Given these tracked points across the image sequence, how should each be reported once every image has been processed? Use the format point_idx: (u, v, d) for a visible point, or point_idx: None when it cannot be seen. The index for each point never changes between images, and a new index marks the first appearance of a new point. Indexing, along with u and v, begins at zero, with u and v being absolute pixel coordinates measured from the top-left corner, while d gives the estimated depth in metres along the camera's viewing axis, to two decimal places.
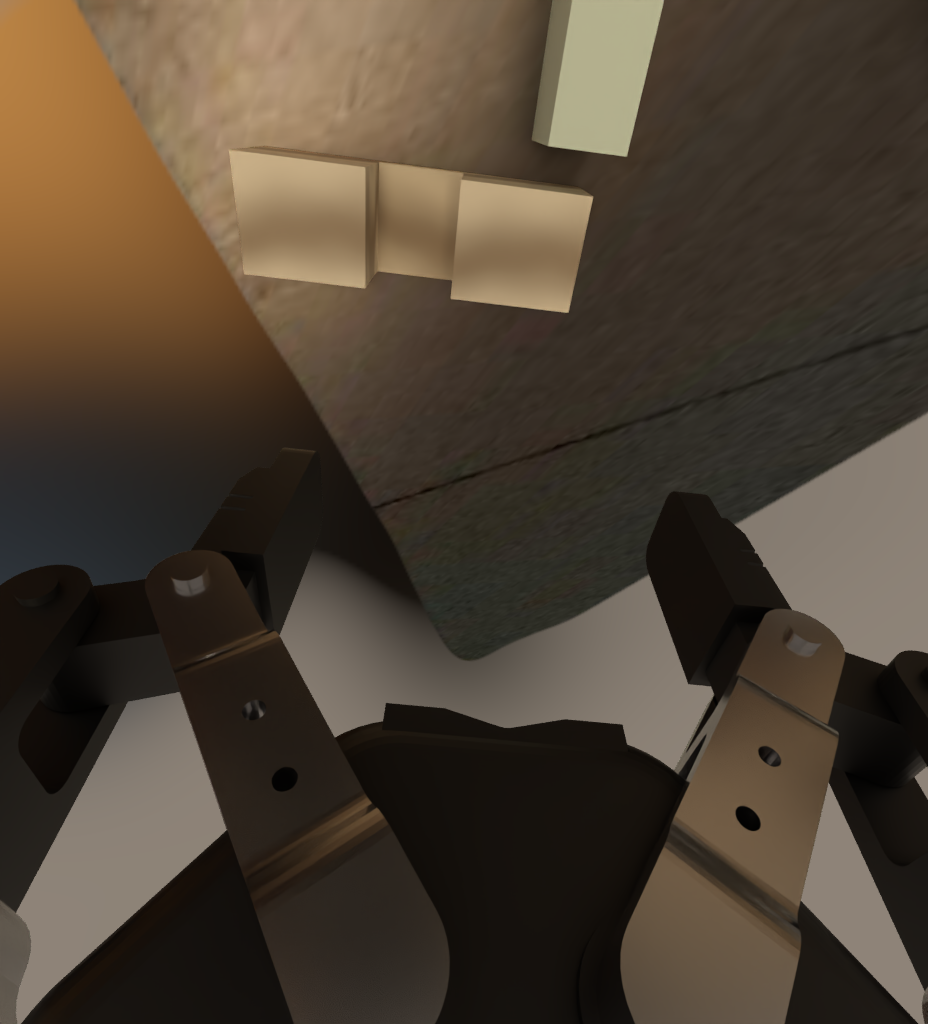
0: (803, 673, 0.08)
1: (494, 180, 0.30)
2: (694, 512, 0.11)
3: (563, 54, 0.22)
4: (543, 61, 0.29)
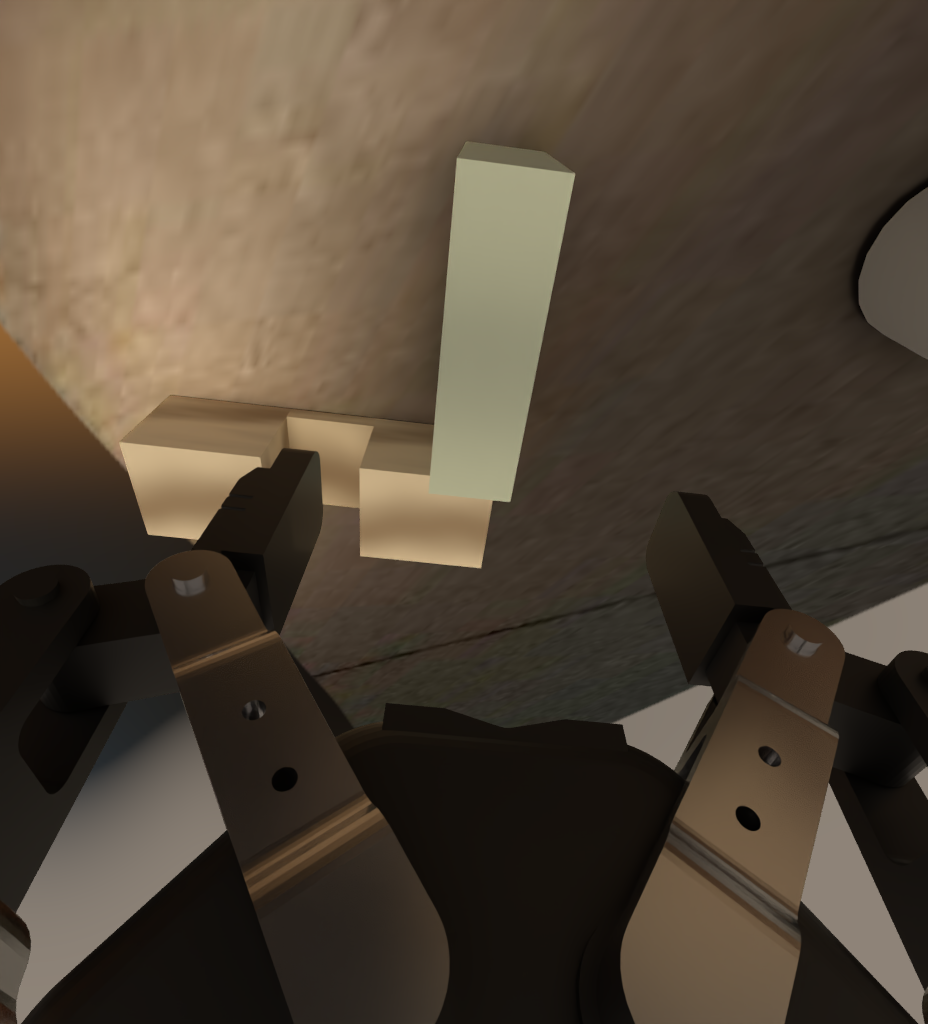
0: (803, 673, 0.08)
1: (399, 450, 0.29)
2: (694, 512, 0.11)
3: (434, 427, 0.21)
4: None
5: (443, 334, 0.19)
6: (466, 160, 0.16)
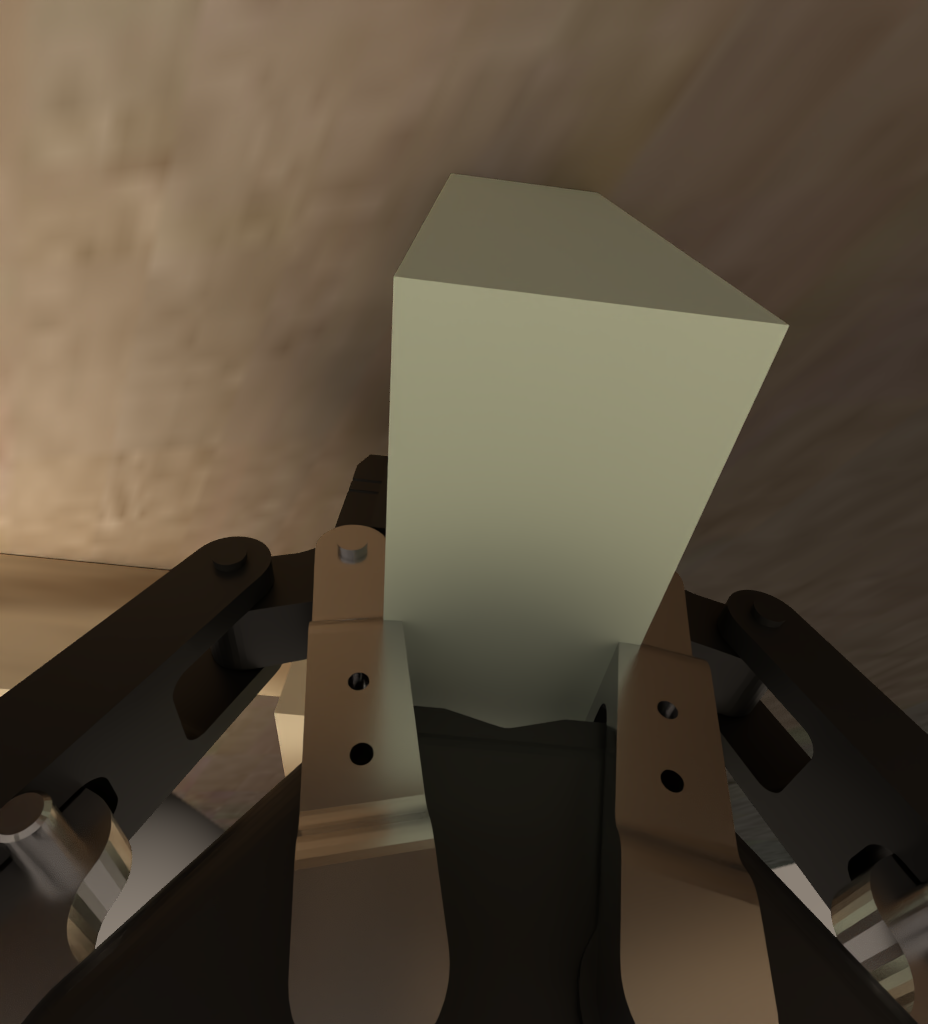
0: None
1: None
2: None
3: None
4: None
5: None
6: (425, 284, 0.05)
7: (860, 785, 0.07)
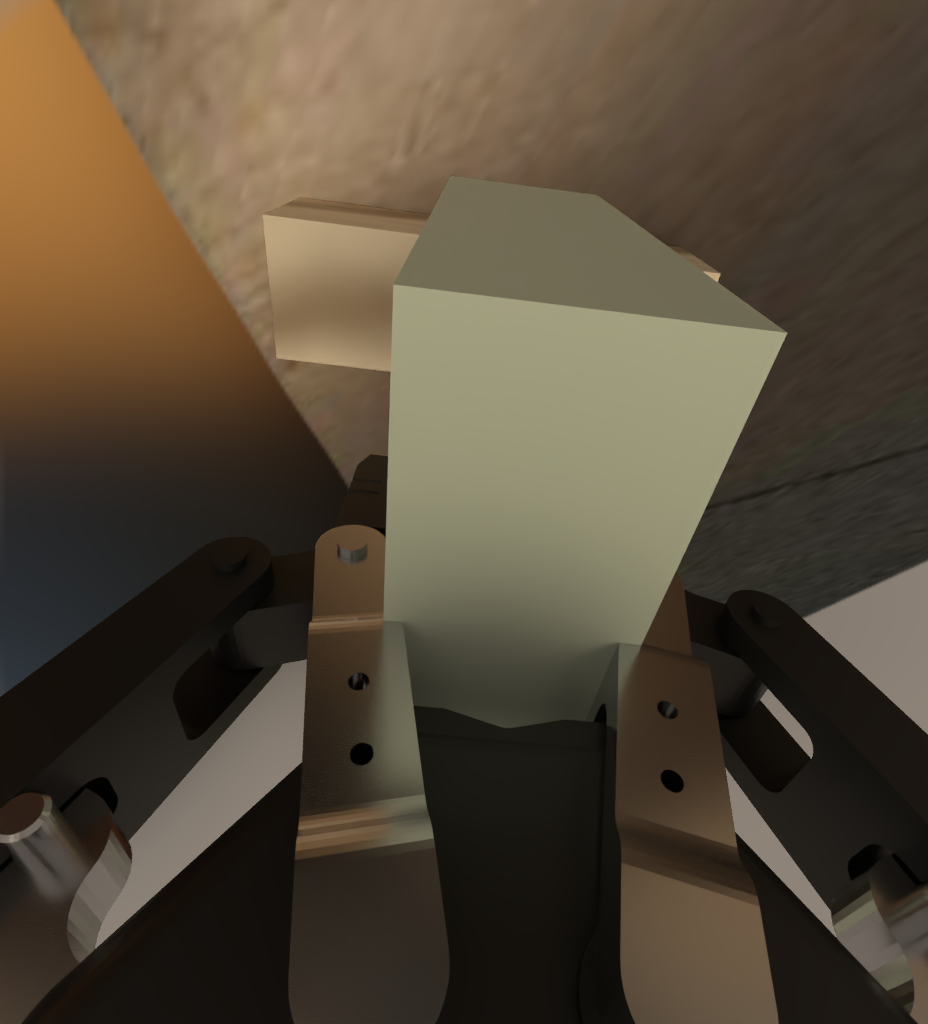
0: None
1: None
2: None
3: None
4: None
5: None
6: (425, 292, 0.05)
7: (860, 785, 0.07)
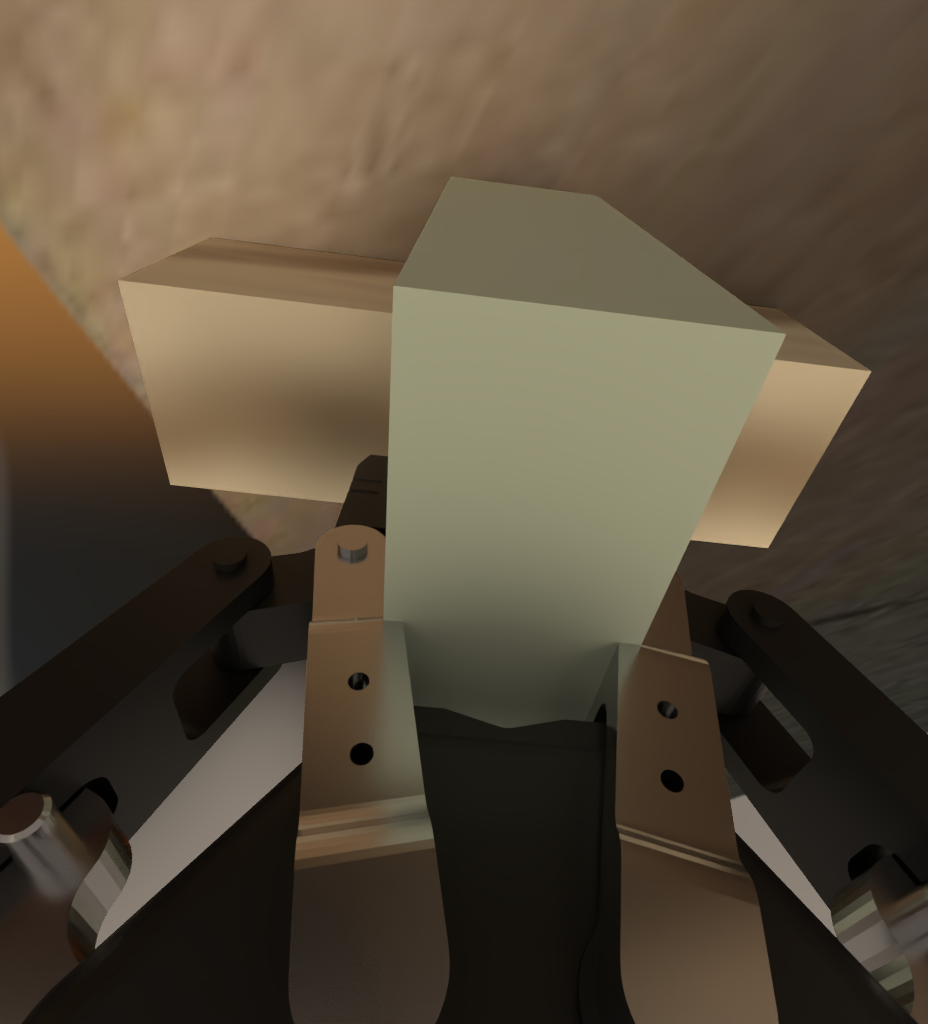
0: None
1: None
2: None
3: None
4: None
5: None
6: (425, 293, 0.05)
7: (860, 785, 0.07)
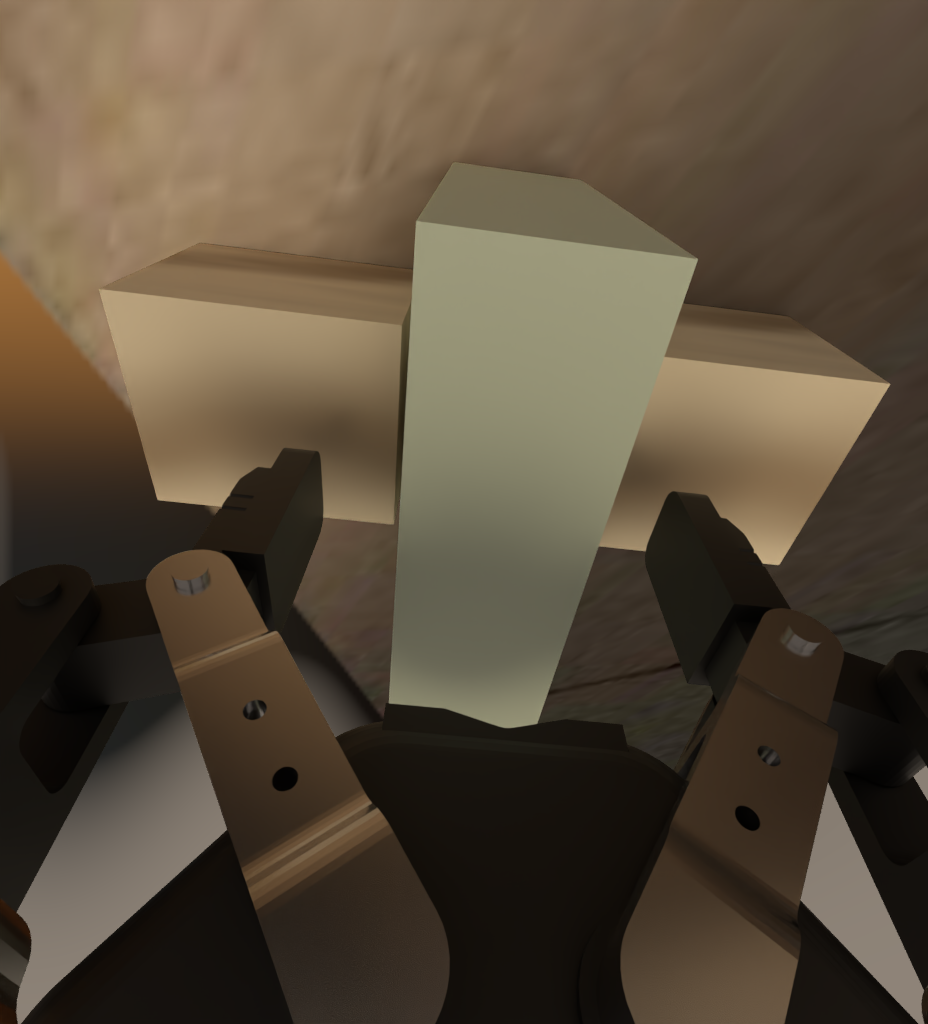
0: (802, 673, 0.08)
1: None
2: (693, 512, 0.11)
3: None
4: None
5: (400, 547, 0.10)
6: (438, 227, 0.07)
7: None
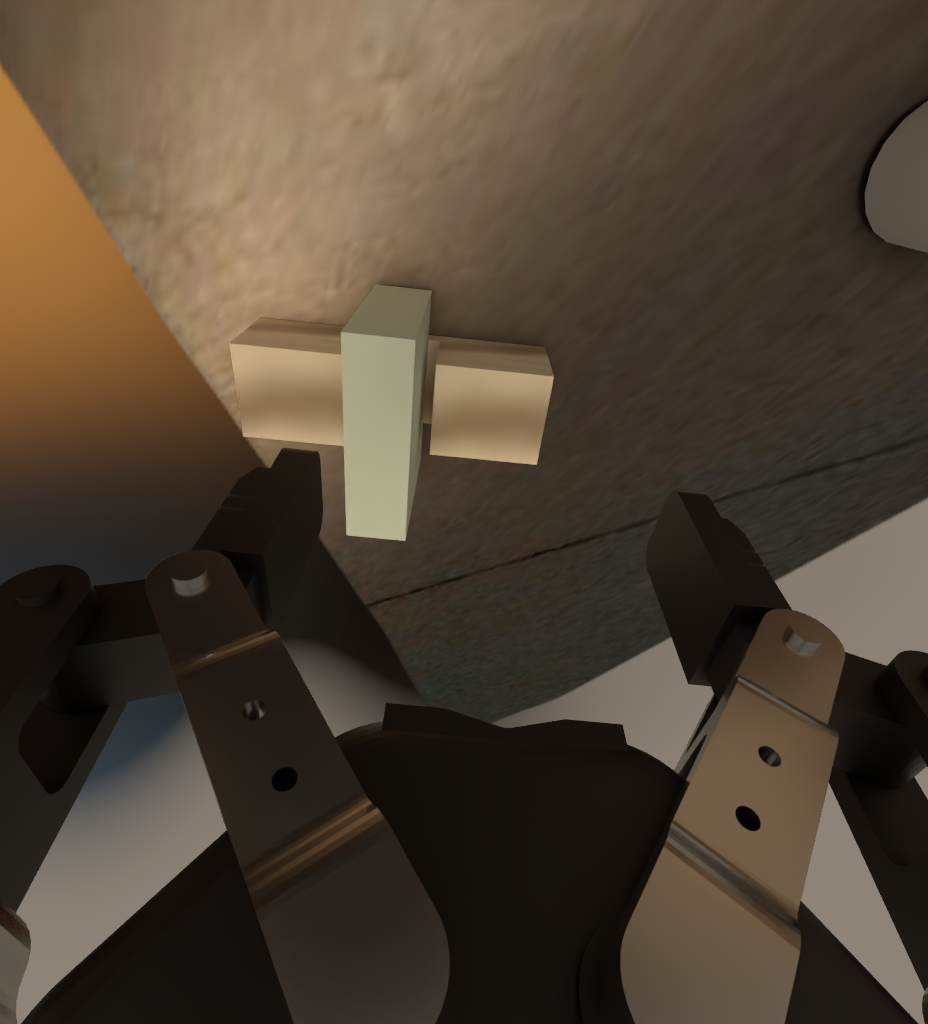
0: (803, 673, 0.08)
1: (466, 355, 0.33)
2: (694, 512, 0.11)
3: None
4: None
5: (344, 431, 0.28)
6: (346, 333, 0.25)
7: None
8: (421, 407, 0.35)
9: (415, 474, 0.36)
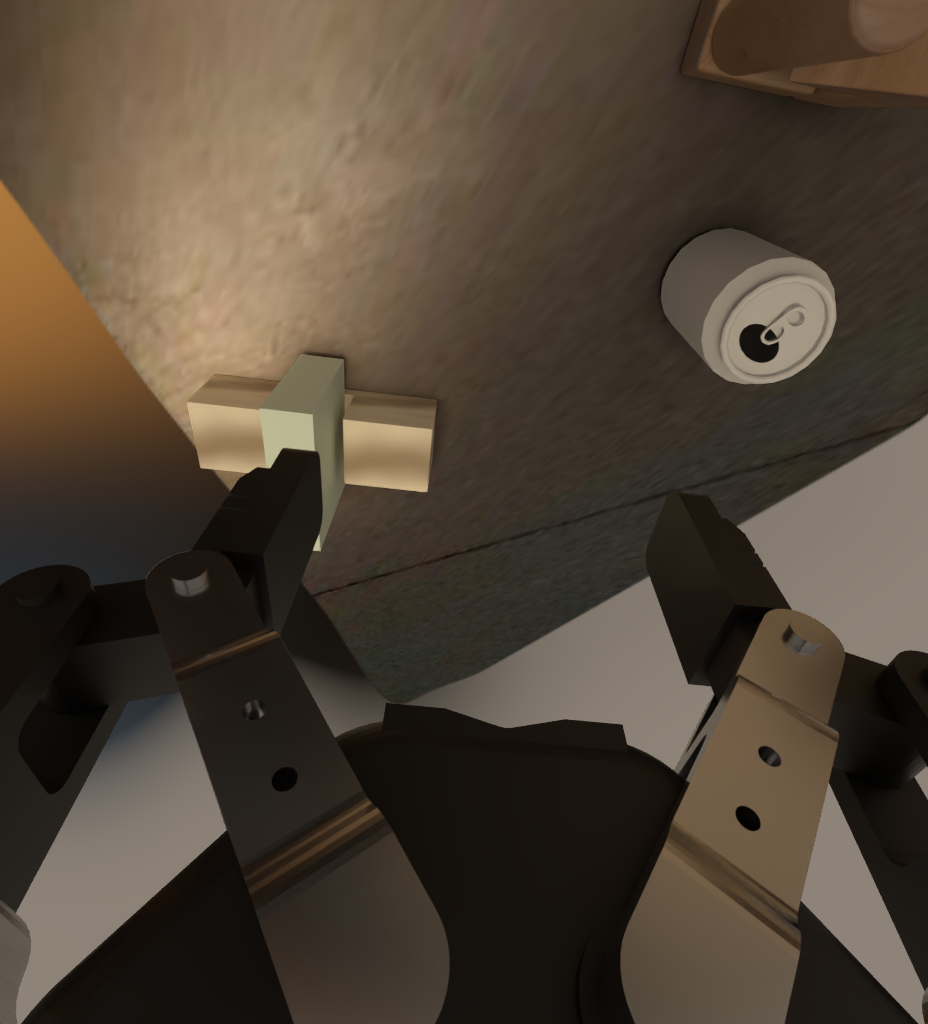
0: (803, 673, 0.08)
1: (370, 409, 0.44)
2: (694, 512, 0.11)
3: None
4: None
5: None
6: (263, 409, 0.36)
7: None
8: (338, 447, 0.45)
9: (334, 498, 0.46)
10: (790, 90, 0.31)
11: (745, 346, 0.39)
